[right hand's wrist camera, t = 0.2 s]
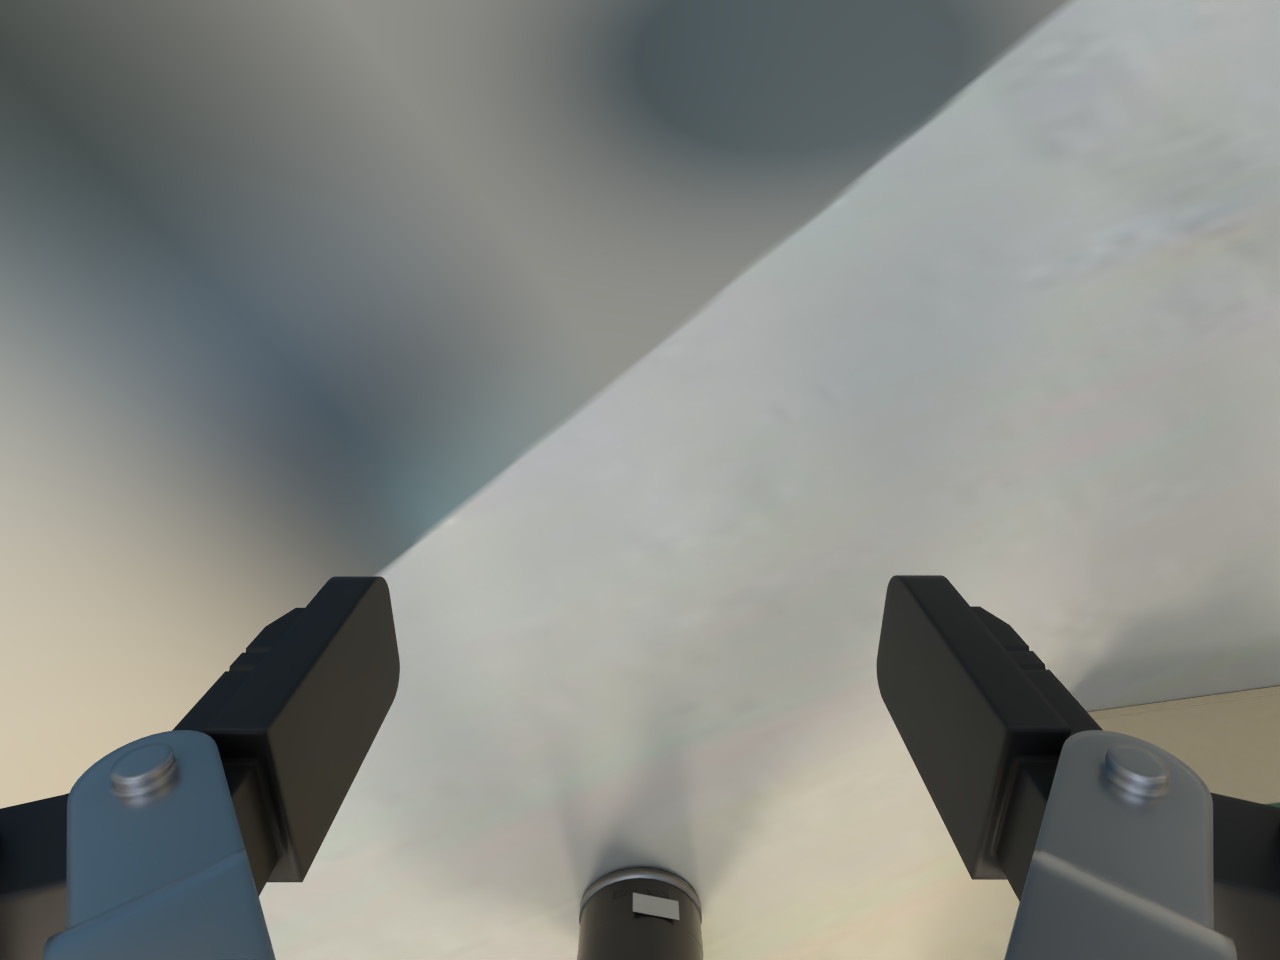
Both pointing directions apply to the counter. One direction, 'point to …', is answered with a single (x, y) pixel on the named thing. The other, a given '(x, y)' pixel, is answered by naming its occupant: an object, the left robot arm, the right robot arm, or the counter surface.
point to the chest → (1214, 738)
